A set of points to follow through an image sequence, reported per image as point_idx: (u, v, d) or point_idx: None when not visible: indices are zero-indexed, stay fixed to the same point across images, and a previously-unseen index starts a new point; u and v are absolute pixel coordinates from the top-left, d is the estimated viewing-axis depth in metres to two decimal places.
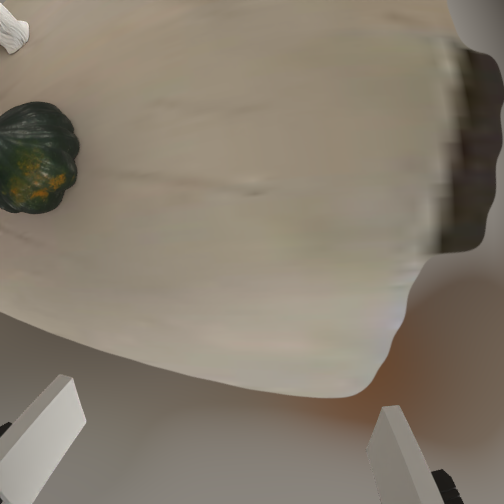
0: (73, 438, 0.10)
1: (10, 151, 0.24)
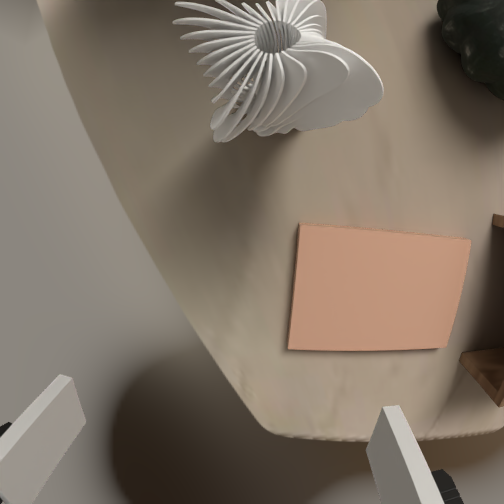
0: (73, 438, 0.10)
1: None
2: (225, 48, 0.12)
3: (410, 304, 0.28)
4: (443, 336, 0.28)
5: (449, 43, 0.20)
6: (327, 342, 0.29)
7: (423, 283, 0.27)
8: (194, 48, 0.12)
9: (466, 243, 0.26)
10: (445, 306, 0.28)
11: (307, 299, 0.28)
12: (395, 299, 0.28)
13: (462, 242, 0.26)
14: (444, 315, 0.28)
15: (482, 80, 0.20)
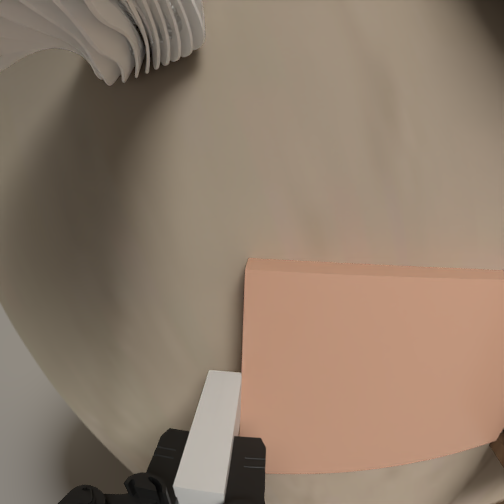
0: None
1: None
2: None
3: (459, 398, 0.13)
4: (496, 429, 0.13)
5: None
6: (307, 464, 0.14)
7: (486, 363, 0.12)
8: None
9: None
10: None
11: (268, 409, 0.13)
12: (437, 397, 0.13)
13: None
14: None
15: None
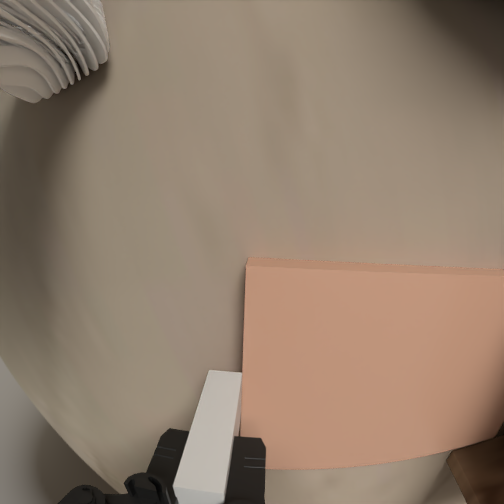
0: None
1: None
2: None
3: (457, 394, 0.13)
4: (494, 425, 0.14)
5: None
6: (308, 460, 0.14)
7: (483, 358, 0.13)
8: None
9: None
10: None
11: (269, 404, 0.14)
12: (435, 392, 0.13)
13: None
14: (502, 398, 0.13)
15: None
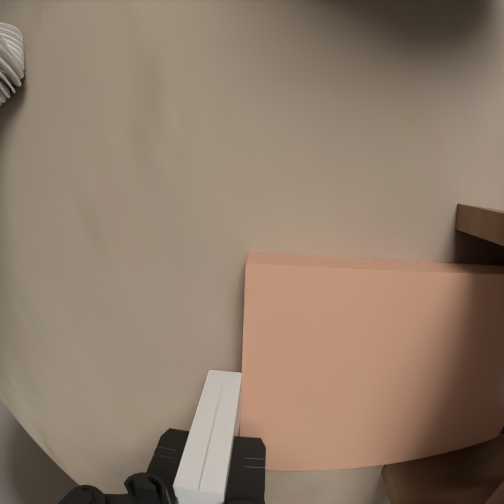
0: None
1: None
2: None
3: (460, 394, 0.13)
4: (497, 425, 0.13)
5: None
6: (308, 461, 0.14)
7: (487, 358, 0.12)
8: None
9: None
10: None
11: (269, 405, 0.13)
12: (438, 393, 0.13)
13: None
14: None
15: None
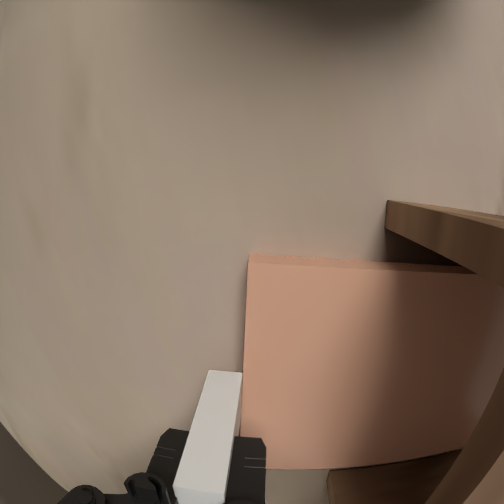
0: None
1: None
2: None
3: (458, 394, 0.13)
4: None
5: None
6: (308, 459, 0.14)
7: (485, 358, 0.12)
8: None
9: None
10: None
11: (270, 403, 0.13)
12: (436, 392, 0.13)
13: None
14: None
15: None
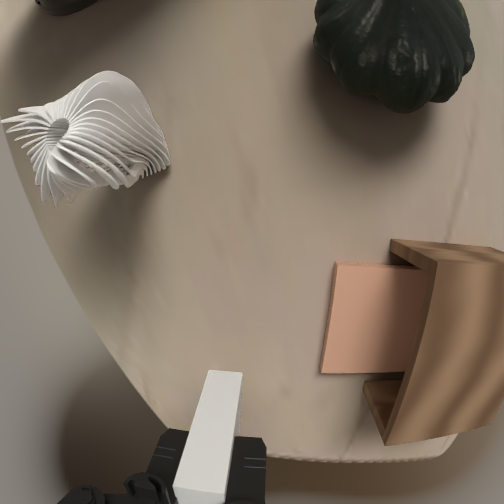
0: None
1: None
2: (32, 148, 0.15)
3: None
4: None
5: (325, 59, 0.24)
6: (356, 366, 0.31)
7: None
8: (21, 147, 0.16)
9: None
10: None
11: (341, 330, 0.30)
12: (416, 327, 0.30)
13: None
14: None
15: (360, 94, 0.23)
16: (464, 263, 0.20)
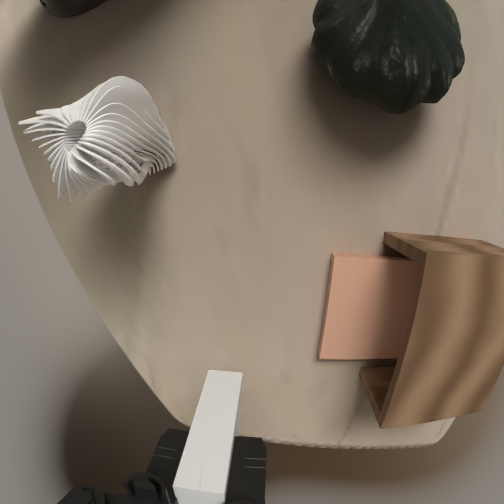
0: None
1: None
2: (49, 148, 0.17)
3: None
4: None
5: (322, 62, 0.26)
6: (352, 352, 0.33)
7: None
8: (38, 147, 0.17)
9: None
10: None
11: (338, 317, 0.32)
12: None
13: None
14: None
15: (355, 96, 0.25)
16: (452, 254, 0.22)
